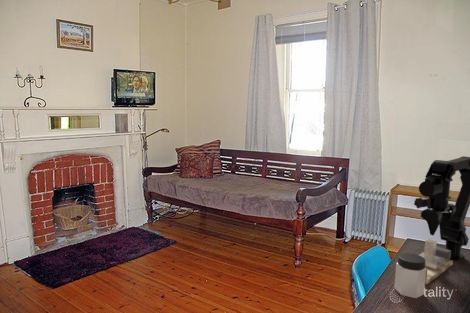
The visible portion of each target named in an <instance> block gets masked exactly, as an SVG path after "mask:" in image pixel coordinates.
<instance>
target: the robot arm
mask: <svg viewBox="0 0 470 313" xmlns="http://www.w3.org/2000/svg"><path fill="white" fill-rule="evenodd" d="M456 172H459V175H460V177H459V180H460V182H461V187H460V190H459V194H458V196H457V197H456V201H455V204H453V203H449V201H450V200H451V198H452V196H450V188H451V182H453V181H454V179H453V176H455V175H456ZM418 192H419V193H420V195H421V196H423V197H424V198H422V197H416V198H415V200H413V201H414V203H413V205H414V206H415V207H416V208H417V209H421V208H425V209H423V210H422V211H420V218H422V219H423V220H425V221H426V223H427V226H428V232H429V235H430V236H434V235H435V234H436V232H437V230H438V229H439V236H440V240H442V241H445V245H444V247H445V248H444V249H448V250H451V256H450V259H453V260H457V261H460V260H461V259H462V258H464V254H462V248H463V247H464V246H465V247H466V246H468V243H469V237H468V235H467V233H466V231H467V228H466V224H465V218H466V216H467V213H468V211H469V208H470V156H464V155H463V156H460V157H458V158H454V159H450V160H441V159H440V160H439V159H436V160H433V162H432V163H431V164H430V166H429V168H428V171H427V172H426V174H425V179H424V180H423V181H422V182H421V183H420V184H419V186H418ZM426 207H427V208H426Z"/></svg>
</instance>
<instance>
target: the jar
mask: <svg viewBox="0 0 470 313" xmlns="http://www.w3.org/2000/svg"><path fill="white" fill-rule="evenodd" d="M394 275H395V277H394V289H395V290H396V291H397V292H398V293H399V294H400V296H404V297H409V298H414V299H417V298H420V297H421V296H423V295H424V294H425V285H426V283H425V277H426V268H425V259H424V258H423V257H421V256H419V254H417V253H416V254H415V253H413V252H401V253H399V254H398V256H397V262H396V263H395V274H394Z"/></svg>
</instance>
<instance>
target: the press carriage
mask: <svg viewBox="0 0 470 313" xmlns="http://www.w3.org/2000/svg"><path fill="white" fill-rule="evenodd" d="M437 244H438V241H437V240H434V239H430V238H428V239H426V240H425V241H424V251H421V253H420V254H418V255H419V256H421V257H423V258H424V259H425V266H426V267H429V268H432V269H435V270H437V269H438V268H439V267H441V266H442V265H443V264H444V262H445V259H444V258H440V257H437V256H435V255H436V246H437Z"/></svg>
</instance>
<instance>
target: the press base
mask: <svg viewBox="0 0 470 313" xmlns="http://www.w3.org/2000/svg"><path fill="white" fill-rule="evenodd" d="M435 256H437V257H440V258H444V259H445V262H444V264H443V265H442V266H441V267H439V268H438V269H437V270H435V269H432V268H429V267H426V266H425V268H426V277H425V285H428V284H430V283H431V282H432V281H433V280H435V279H436V278H437V277H439V276H440V275H441V274H442V273H444V272H445V271H446V270H447V269H448V268H450V267H451V266H453V264H454V261H453V260H451V258H450V256H451V250H448V249H445V248H443V247H441V246H440V247H439V246H437V245H436V255H435Z"/></svg>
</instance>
